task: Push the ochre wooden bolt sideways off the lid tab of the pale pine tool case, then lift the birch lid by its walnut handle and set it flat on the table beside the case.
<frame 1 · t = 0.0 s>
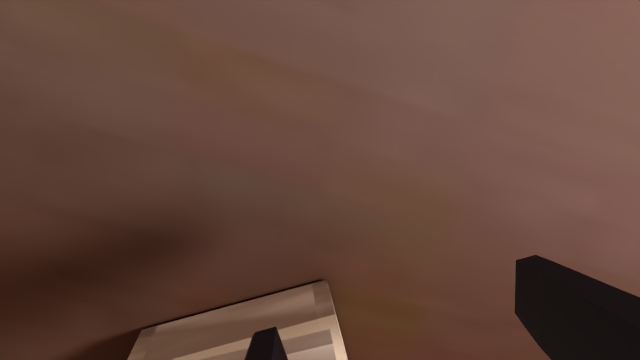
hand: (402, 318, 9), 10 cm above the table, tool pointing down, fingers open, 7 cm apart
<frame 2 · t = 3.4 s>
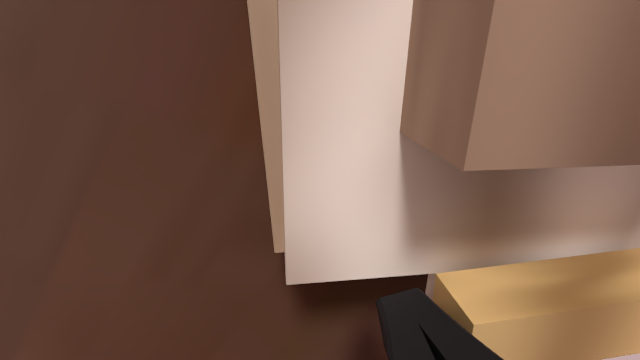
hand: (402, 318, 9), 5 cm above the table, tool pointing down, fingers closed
key: (560, 308, 10), point 5 cm above the table, slide at 1.3 cm, touching gripper
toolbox: (455, 41, 12), on the table
lid: (526, 70, 9), point 3 cm above the table, touching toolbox
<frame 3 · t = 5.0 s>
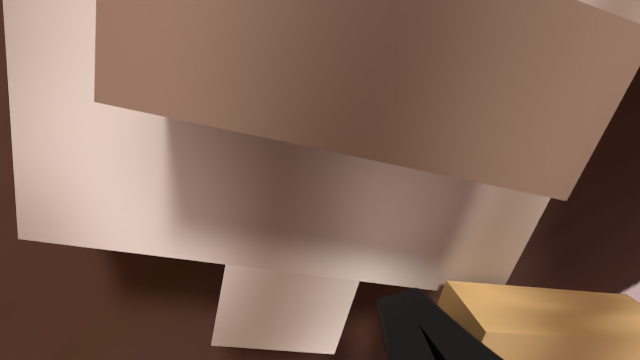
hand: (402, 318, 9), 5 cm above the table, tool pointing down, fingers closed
key: (553, 335, 10), point 5 cm above the table, slide at 8.4 cm, touching gripper
lid: (343, 60, 8), point 3 cm above the table, touching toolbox
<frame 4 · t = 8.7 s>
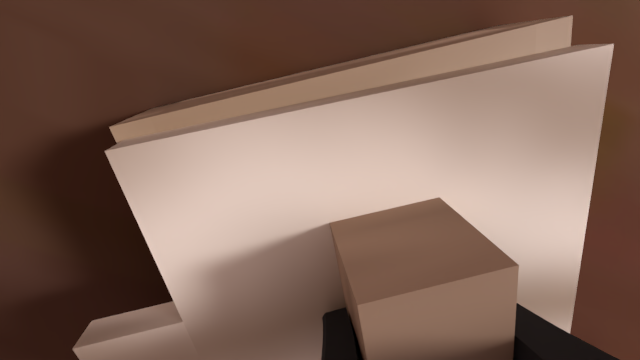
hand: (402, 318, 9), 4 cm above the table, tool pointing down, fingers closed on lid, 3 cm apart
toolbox: (363, 239, 13), on the table
lid: (387, 300, 11), point 3 cm above the table, touching gripper, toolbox
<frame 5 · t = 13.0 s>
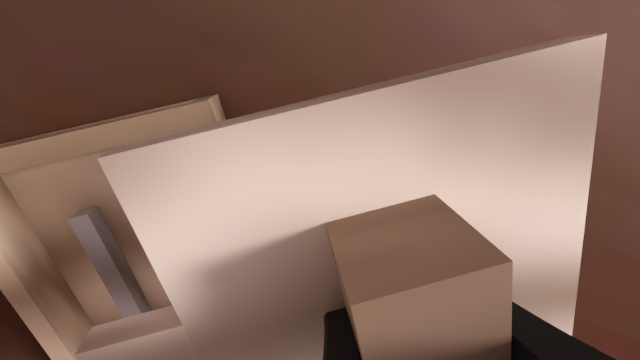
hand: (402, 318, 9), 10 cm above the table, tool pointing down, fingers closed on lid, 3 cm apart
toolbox: (154, 239, 19), on the table
lid: (387, 298, 11), point 9 cm above the table, touching gripper
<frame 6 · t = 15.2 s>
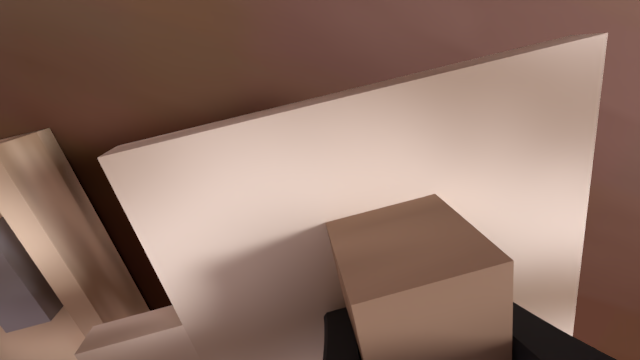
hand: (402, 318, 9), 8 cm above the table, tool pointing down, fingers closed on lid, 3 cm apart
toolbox: (1, 294, 16), on the table
lid: (388, 298, 11), point 6 cm above the table, touching gripper
when the fingers open (3 cm above the table, at t = 17.3 s): lid drops 2 cm, on the table.
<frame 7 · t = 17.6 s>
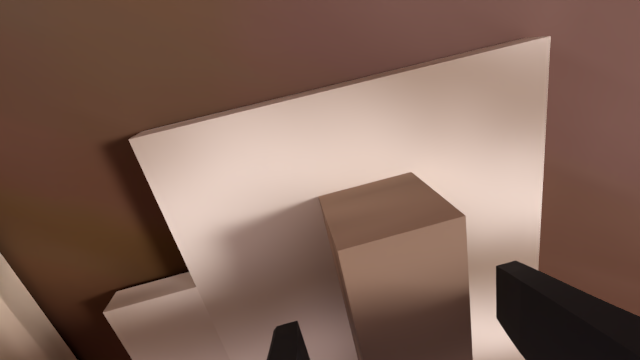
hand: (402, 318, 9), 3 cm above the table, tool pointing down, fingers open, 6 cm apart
lid: (374, 267, 12), on the table
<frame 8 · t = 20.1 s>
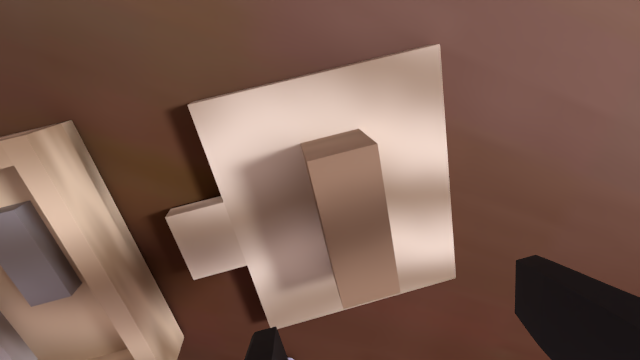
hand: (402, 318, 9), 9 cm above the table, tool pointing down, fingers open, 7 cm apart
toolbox: (25, 273, 17), on the table
lid: (340, 198, 18), on the table
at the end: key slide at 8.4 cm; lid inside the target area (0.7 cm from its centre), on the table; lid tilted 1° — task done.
